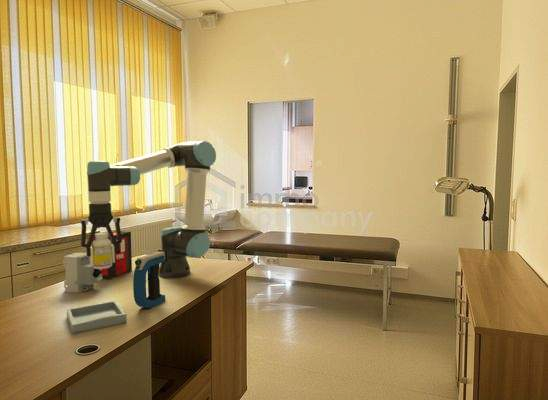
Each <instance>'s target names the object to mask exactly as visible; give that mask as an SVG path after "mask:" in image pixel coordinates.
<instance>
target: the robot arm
mask: <svg viewBox="0 0 548 400" xmlns="http://www.w3.org/2000/svg"><path fill="white" fill-rule="evenodd" d="M216 160H217V152H216V149H215V147H213V144H212V143H210V142H209V141H206V140H194V141H193V140H192V141H183V142H180V143H177V144H173V145H171V146H168V147H167V146H166V147H164V148H163V149H162V150H161V151H157V152H154V153H150V154H146V155H143V156H140V157H136V158H132V159H128V160H124V161H121V162H117V163H113V164H110V162H109V161H108V160H93V161H92V160H91V161H88V162H87V165H86V169H87V171H86V172H87V173H86V175H87V189H88V190H87V191H88V194H87V195H88V202H89V204H88V217H87V218H85V219H83V218H82V219H80V221H79V222H80V224H81V234H80V246H81V247H83V248H86V253H87V256H88V257H89V256H90V264H91V266H92V265H94V261H93V248H92V241H93V238H94V235H95V234H96V232H97V229H99V228H100V229H101V228H105V229H106V231H107V232H106V233H108V234H109V236H110V238H111V241H112V243H113V244H112V245H111V247H112V262H113V263H114V262H115V254H114V253H117V244H119V243H121V242H122V237H121V231H122V230H121V225H120V224H121V217H119V216H113V213H112V203H111V202H112V198H111V197H112V195H111V187H115V186H116V187H117V186H118V187H119V186H120V187H122V186H125V187H126V186H130V187H131V186H136V185H138V184H139V183H140V181H141V175H145V174H148V173H151V172H153V171H157V170H161V169H164V168H169V169H171V168H175V167H184V170H185V171H186V172H187V178H186V179H187V181H186V192H185V194H186V196H185V211H184V224H183V225H181V226H173V227H166V228H163V229H162V230H161V233H160V234H161V235H160V238H161V240H160V241H161V243H160V245H161V250H167V256H168V261H167V262H162V263H160V265H159V277H162V278H169V279H171V278H181V277H185V276H188V275H190V274H191V267H190V264H189V260H188V258H187V257H189V258H195V259H196V258H202V257H203V256H206V253H207V252H208V251H209V249H210V246H211V238H210V237H209V235H208V234H207V228H206V227H205V226H204V215H205V202H206V186H207V174H208V173H210V171H211V166H212V165H214V164H215V162H216ZM112 221H113V223H114V226H115V231H116V235H117V240H116V239H115V237H114V235H113V232H114V231H112V228H111V226H110V224H111V222H112ZM89 223H90V224H91V225H92V226H91V228H90V232H89V235H88V237H87V225H88V224H89ZM86 237H87V238H88V239H87V242H86Z"/></svg>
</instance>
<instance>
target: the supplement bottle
mask: <svg viewBox="0 0 548 400" xmlns="http://www.w3.org/2000/svg"><path fill="white" fill-rule="evenodd" d="M94 237H95V241H93V242H92V244H91V247H92V248H93V261H94V265H93V267H94V268H95V269H105V268H109V267H111V266H112V247H111V241H110V240H109V239H108V232H98V233H96V232H95V235H94Z"/></svg>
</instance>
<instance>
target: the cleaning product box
mask: <svg viewBox="0 0 548 400" xmlns="http://www.w3.org/2000/svg"><path fill="white" fill-rule="evenodd" d="M120 231H121V237H122V242H121V243H119V244H117V253H114V254H115V262H114V263H113V262H112V266H111V267H109V268H105V269H102V280H106V281H107V280H108V281H110V280H112V279H115V278H118V277H120V276H122V275H125V274H127V273H130V272H132V271H133V262H132V258H133V257H132V232H131V231H126V230H125V231H123V230H120ZM112 232H113V235H114V237H115V239H116V240H117V235H116V230H115V231H112ZM108 239H109V240H110V241H111V238H110V236H109V234H108ZM93 241H95V237H94V238H93ZM93 241H92V242H93ZM112 244H113V243H112V241H111V245H112Z"/></svg>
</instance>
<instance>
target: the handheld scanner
mask: <svg viewBox="0 0 548 400" xmlns="http://www.w3.org/2000/svg"><path fill="white" fill-rule="evenodd" d="M167 261H168V256H167V250H162V249H157V252H156V251H155V252H153V253H150V254H146V255H144V256H140V257H137V258H136V260H135V261H134V264H135V268H134V271H133V278H132V283H133V284H132V286H133V287H132V290H133V299H134V302H135V304H136V305H137V306H138V307H139V308H145V309H146V308H147V309H153V308H154V307H156V306H158V305H160V304H162V303H164V302H165V301H166V294H161V284H160V283H161V282H160V281H161V280H160V276H159V267H160V263H162V262H167Z"/></svg>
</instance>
